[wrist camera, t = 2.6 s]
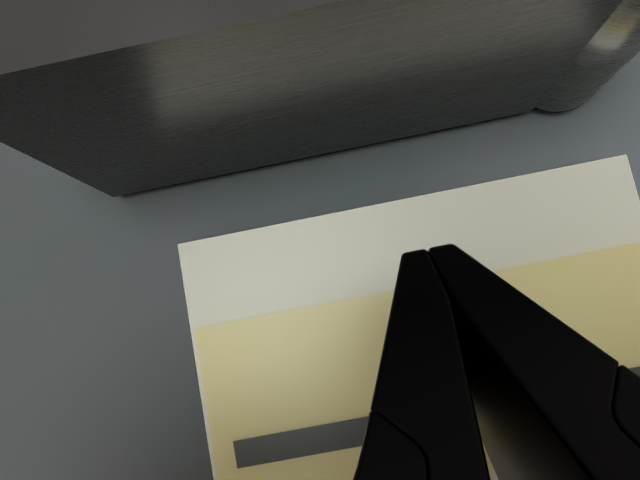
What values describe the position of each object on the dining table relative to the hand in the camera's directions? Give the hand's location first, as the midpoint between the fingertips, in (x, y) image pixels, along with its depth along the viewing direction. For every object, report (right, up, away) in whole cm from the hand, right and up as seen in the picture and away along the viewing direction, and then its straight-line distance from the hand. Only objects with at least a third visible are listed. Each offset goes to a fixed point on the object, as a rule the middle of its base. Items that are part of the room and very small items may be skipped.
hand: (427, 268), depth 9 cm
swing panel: (-1, +4, +8) cm, 9 cm away
